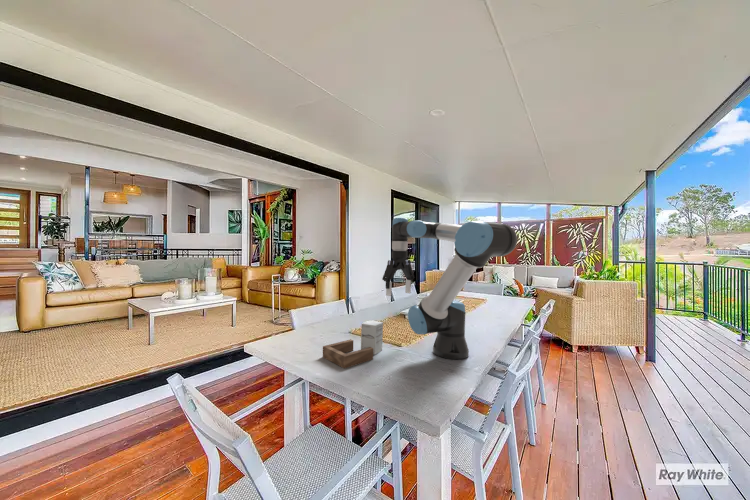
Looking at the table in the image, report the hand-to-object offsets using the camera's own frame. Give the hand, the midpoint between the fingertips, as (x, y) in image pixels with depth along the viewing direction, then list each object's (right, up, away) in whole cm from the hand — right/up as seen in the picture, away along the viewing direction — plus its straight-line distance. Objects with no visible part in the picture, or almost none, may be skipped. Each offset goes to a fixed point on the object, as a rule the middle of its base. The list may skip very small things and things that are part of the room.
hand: (398, 294), depth 140 cm
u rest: (-22, -23, -20) cm, 38 cm away
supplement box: (-13, -24, -12) cm, 29 cm away
